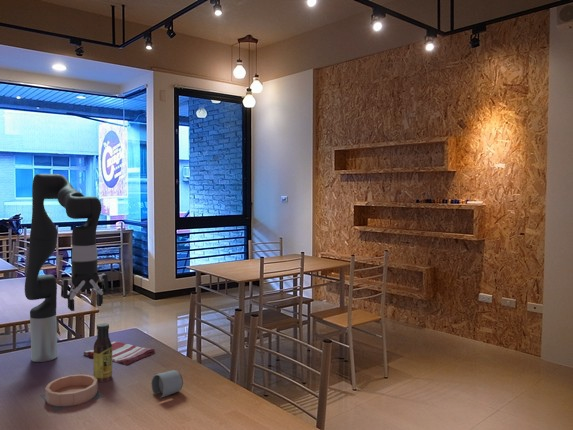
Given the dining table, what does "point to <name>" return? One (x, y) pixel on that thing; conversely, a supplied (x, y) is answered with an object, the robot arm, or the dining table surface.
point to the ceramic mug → (167, 383)
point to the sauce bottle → (102, 354)
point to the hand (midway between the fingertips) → (85, 308)
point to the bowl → (71, 390)
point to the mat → (71, 406)
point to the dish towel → (124, 352)
